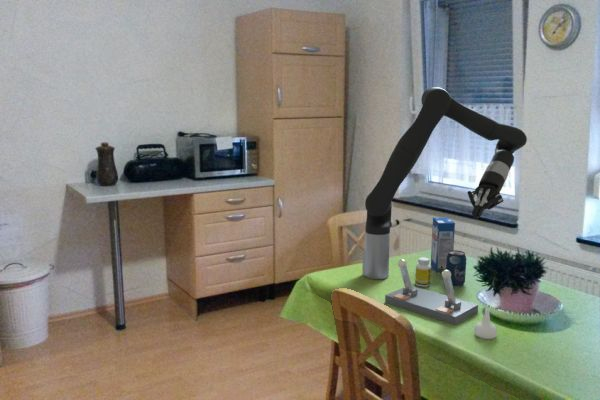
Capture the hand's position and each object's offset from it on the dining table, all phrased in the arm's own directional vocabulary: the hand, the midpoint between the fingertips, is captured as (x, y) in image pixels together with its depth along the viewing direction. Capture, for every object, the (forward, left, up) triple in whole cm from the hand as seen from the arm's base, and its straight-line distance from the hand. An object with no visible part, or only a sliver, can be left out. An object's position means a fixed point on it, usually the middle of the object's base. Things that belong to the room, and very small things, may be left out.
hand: (475, 216), depth 185 cm
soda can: (-10, +7, -28) cm, 31 cm away
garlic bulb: (+19, -26, -28) cm, 43 cm away
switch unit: (-4, -19, -28) cm, 34 cm away
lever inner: (-12, -19, -25) cm, 33 cm away
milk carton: (-23, +19, -28) cm, 41 cm away
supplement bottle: (-18, -2, -28) cm, 33 cm away
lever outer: (+4, -19, -25) cm, 31 cm away
